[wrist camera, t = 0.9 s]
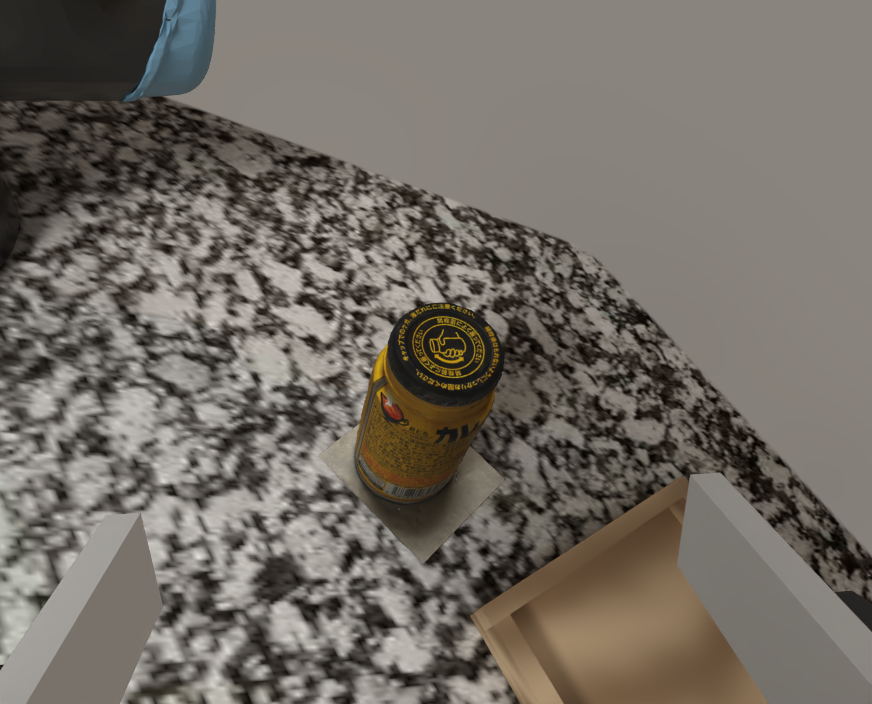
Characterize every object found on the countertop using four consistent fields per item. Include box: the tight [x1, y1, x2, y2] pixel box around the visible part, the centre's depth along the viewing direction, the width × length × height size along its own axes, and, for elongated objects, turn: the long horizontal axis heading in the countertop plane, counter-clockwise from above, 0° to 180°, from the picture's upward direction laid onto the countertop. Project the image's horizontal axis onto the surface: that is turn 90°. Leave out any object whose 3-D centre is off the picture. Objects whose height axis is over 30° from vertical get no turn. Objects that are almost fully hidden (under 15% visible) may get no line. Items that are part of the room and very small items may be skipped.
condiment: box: [319, 303, 505, 564], centre depth 31 cm, size 7×8×12 cm
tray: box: [470, 476, 768, 704], centre depth 32 cm, size 15×15×2 cm
